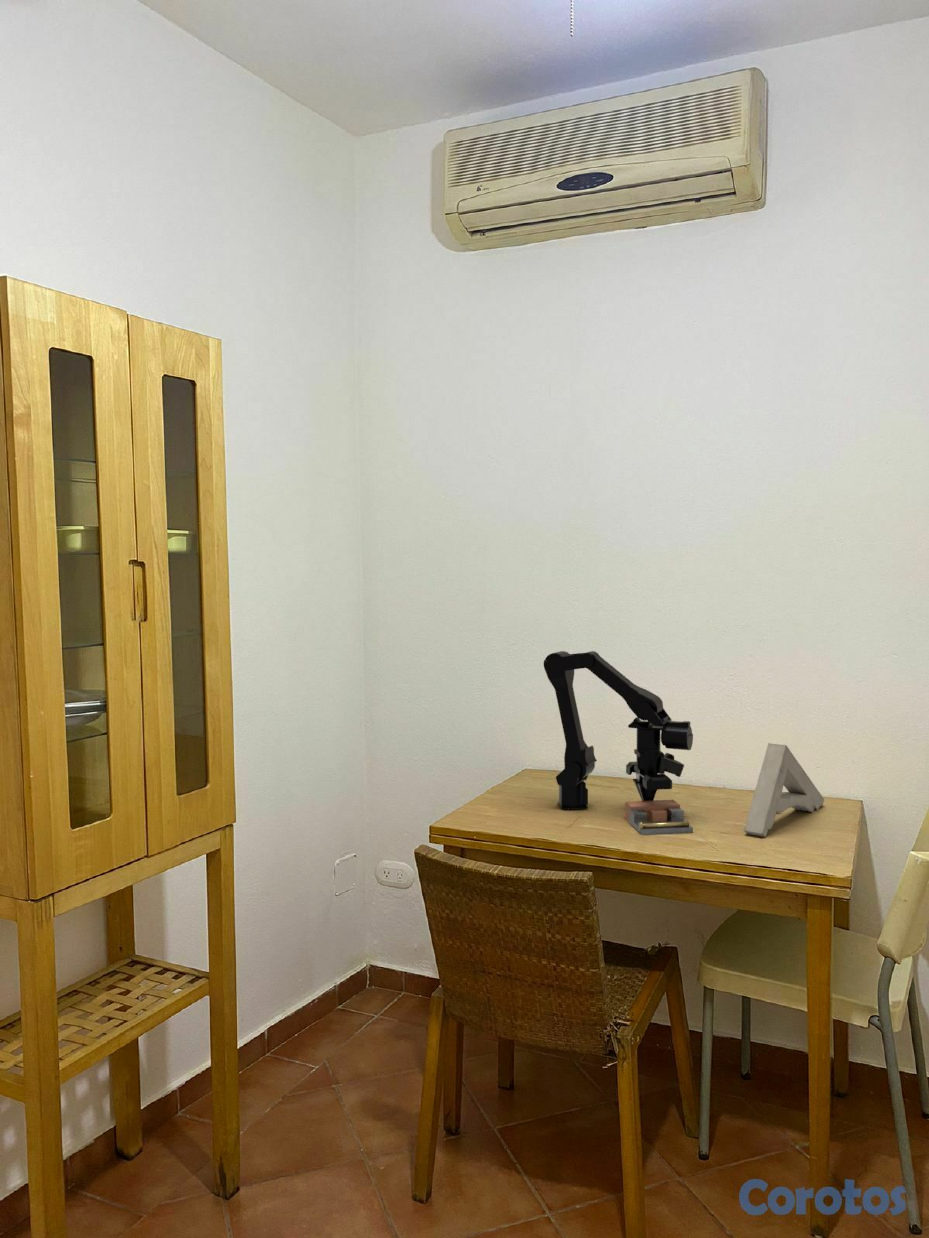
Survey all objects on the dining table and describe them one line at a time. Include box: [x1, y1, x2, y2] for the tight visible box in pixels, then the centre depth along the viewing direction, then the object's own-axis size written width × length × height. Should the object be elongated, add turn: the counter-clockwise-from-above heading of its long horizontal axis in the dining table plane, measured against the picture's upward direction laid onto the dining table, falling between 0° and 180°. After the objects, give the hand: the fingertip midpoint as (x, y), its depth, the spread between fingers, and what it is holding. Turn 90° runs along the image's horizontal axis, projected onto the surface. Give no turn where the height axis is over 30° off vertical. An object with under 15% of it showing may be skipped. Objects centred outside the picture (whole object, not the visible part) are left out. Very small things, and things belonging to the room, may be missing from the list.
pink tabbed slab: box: [624, 799, 681, 823], centre depth 236 cm, size 12×8×4 cm, turn 97°
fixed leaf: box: [629, 806, 694, 836], centre depth 230 cm, size 12×10×4 cm
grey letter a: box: [743, 742, 825, 838], centre depth 236 cm, size 22×4×30 cm
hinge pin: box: [639, 821, 690, 829], centre depth 226 cm, size 12×2×2 cm, turn 96°
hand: (648, 809), depth 241 cm, fingers closed
